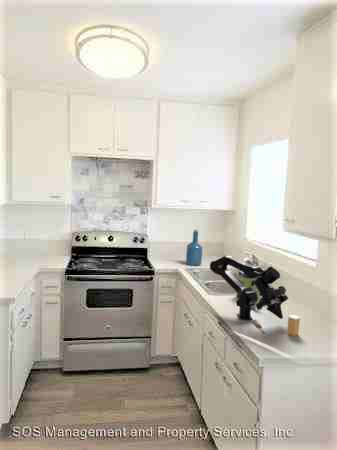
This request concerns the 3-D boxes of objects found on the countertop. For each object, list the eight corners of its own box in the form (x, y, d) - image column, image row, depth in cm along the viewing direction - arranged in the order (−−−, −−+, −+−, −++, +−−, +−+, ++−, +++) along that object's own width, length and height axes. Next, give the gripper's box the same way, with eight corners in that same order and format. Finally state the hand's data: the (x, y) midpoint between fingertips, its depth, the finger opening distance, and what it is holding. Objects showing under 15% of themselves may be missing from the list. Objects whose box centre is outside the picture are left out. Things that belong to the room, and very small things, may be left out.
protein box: (236, 296, 224) (238, 271, 222) (258, 295, 228) (260, 271, 226) (244, 301, 214) (246, 275, 212) (267, 300, 218) (269, 275, 216)
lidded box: (286, 333, 165) (288, 316, 164) (291, 331, 167) (292, 314, 166) (293, 336, 162) (295, 318, 161) (298, 334, 164) (300, 317, 164)
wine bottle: (204, 265, 310) (206, 230, 307) (195, 267, 300) (198, 231, 297) (191, 262, 318) (193, 228, 315) (182, 264, 308) (184, 229, 305)
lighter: (247, 307, 203) (248, 293, 202) (248, 306, 204) (249, 292, 204) (259, 310, 199) (260, 296, 198) (260, 309, 200) (262, 295, 200)
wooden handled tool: (251, 324, 177) (252, 319, 176) (256, 324, 177) (257, 319, 177) (261, 336, 163) (262, 331, 162) (266, 336, 163) (267, 331, 163)
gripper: (263, 282, 165) (282, 313, 158) (286, 278, 177) (305, 307, 170) (248, 294, 172) (265, 325, 165) (271, 289, 184) (288, 317, 177)
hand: (281, 318), depth 169 cm, fingers closed
